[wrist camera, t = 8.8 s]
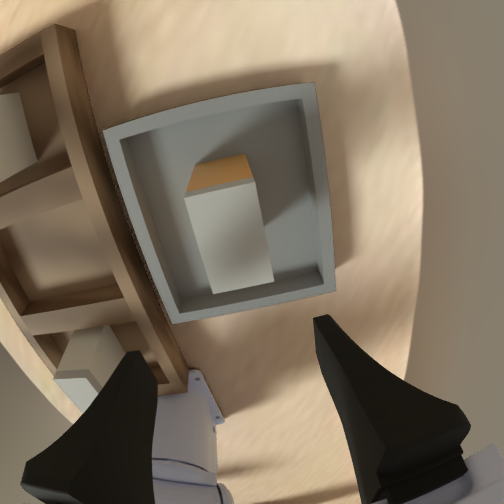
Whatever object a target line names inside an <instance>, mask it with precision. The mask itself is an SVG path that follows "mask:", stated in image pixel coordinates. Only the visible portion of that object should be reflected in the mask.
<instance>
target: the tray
mask: <svg viewBox="0 0 504 504" xmlns="http://www.w3.org/2000/svg"><path fill="white" fill-rule="evenodd" d="M103 134H104V137H105V141H106V145H107V148H108V151H109V155H110V158H111V162H112V165H113V168H114V171H115V174H116V178H117V181H118V184H119V187H120V190H121V193H122V196H123V199H124V202H125V205H126V208H127V211H128V214H129V217H130V219H131V222H132V225H133V228H134V231H135V233H136V236H137V239H138V242H139V244H140V247H141V250H142V252H143V255H144V257H145V260H146V262H147V265H148V268H149V270H150V273H151V275H152V278H153V280H154V283H155V285H156V287H157V290H158V292H159V295H160V297H161V299H162V302H163V304H164V306H165V309H166V311H167V313H168V316H169V318H170V320H171V322H172V324H177V323H182V322H188V321H194V320H199V319H205V318H210V317H216V316H221V315H226V314H232V313H237V312H242V311H247V310H252V309H257V308H262V307H266V306H271V305H276V304H281V303H285V302H290V301H294V300H299V299H303V298H308V297H312V296H317V295H321V294H325V293H330V292H334V291H336V280H335V262H334V246H333V232H332V220H331V208H330V198H329V188H328V178H327V169H326V161H325V152H324V145H323V137H322V130H321V122H320V116H319V109H318V102H317V96H316V90H315V84H314V82H310V83H298V84H290V85H283V86H276V87H270V88H264V89H258V90H252V91H246V92H241V93H236V94H231V95H226V96H221V97H216V98H212V99H207V100H203V101H199V102H195V103H191V104H187V105H183V106H179V107H175V108H171V109H168V110H164V111H161V112H157V113H154V114H150V115H147V116H144V117H140V118H137V119H134V120H131V121H128V122H125V123H122V124H119V125H116V126H113V127H111V128H108V129H106V130H103ZM241 154H245V156H246V158H247V161H248V164H249V167H250V169H251V172H252V175H253V178H254V181H255V184H256V189H257V194H258V200H259V205H260V210H261V215H262V220H263V225H264V230H265V235H266V241H267V246H268V251H269V256H270V262H271V267H272V272H273V278H274V282H270V283H265V284H261V285H256V286H251V287H246V288H241V289H237V290H232V291H227V292H222V293H217V294H213V292H212V289H211V286H210V283H209V279H208V276H207V273H206V270H205V267H204V264H203V260H202V257H201V254H200V251H199V247H198V244H197V241H196V237H195V234H194V231H193V227H192V224H191V221H190V217H189V214H188V210H187V207H186V203H185V200H184V197H185V193H186V190H187V187H188V184H189V181H190V178H191V175H192V172H193V169H194V166H195V165H197V164H201V163H205V162H209V161H214V160H218V159H222V158H227V157H232V156H236V155H241Z"/></svg>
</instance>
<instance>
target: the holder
mask: <svg viewBox="0 0 504 504" xmlns="http://www.w3.org/2000/svg"><path fill="white" fill-rule="evenodd" d="M17 92H20V97H21V101H22V106H23V110H24V114H25V118H26V122H27V126H28V130H29V133H30V137H31V140H32V144H33V147H34V151H35V154H36V157H37V160H38V162H36V163H34V164H32V165H30V166H28V167H27V168H25V169H23V170H21V171H19V172H18V173H16V174H14V175H12V176H11V177H9V178H7V179H5V180H4V181H2V182H0V298H1V300H2V301H3V303H4V305H5V306H6V308H7V310H8V311H9V313H10V315H11V316H12V318H13V319H14V321H15V322H16V324H17V326H18V327H19V329H20V330H21V332H22V333H23V335H24V336H25V338H26V339H27V341H28V342H29V343H30V345H31V346H32V348H33V349H34V350H35V352H36V353H37V355H38V356H39V357H40V359H41V360H42V361H43V363H44V364H45V365H46V367H47V368H48V369H49V371H50V372H51V373H52V374H53V376H55V373H56V371H57V368H58V366H59V364H60V361H61V359H62V356H63V354H64V352H65V349H66V347H67V345H68V343H69V340H70V338H71V336H72V334H73V332H74V330H78V329H85V328H92V327H99V326H106V325H110V327H111V329H112V331H113V332H114V334H115V336H116V338H117V339H118V341H119V343H120V344H121V346H122V348H123V349H124V351H125V353H127V352H130V351H137V350H140V352H141V354H142V355H143V357H144V359H145V360H146V362H147V364H148V366H149V367H150V369H151V371H152V372H153V374H154V375H155V377H156V379H157V380H158V396H160V395H170V394H179V393H188V378H189V367H188V365H187V363H186V361H185V359H184V357H183V355H182V353H181V351H180V349H179V347H178V344H177V342H176V340H175V338H174V336H173V334H172V332H171V329H170V327H169V325H168V323H167V321H166V318H165V316H164V314H163V312H162V309H161V307H160V305H159V303H158V300H157V298H156V296H155V293H154V291H153V289H152V286H151V284H150V281H149V279H148V277H147V274H146V272H145V269H144V267H143V264H142V262H141V259H140V257H139V254H138V251H137V249H136V246H135V244H134V241H133V238H132V236H131V233H130V230H129V228H128V225H127V222H126V219H125V216H124V214H123V211H122V208H121V205H120V202H119V199H118V196H117V193H116V190H115V187H114V184H113V181H112V178H111V175H110V172H109V168H108V165H107V162H106V159H105V155H104V152H103V148H102V145H101V141H100V138H99V134H98V131H97V127H96V123H95V120H94V116H93V112H92V108H91V104H90V100H89V96H88V92H87V87H86V83H85V79H84V74H83V69H82V65H81V60H80V55H79V50H78V44H77V39H76V33H75V30H73V29H70V28H67V27H64V26H60V25H57V24H54V25H52V26H50V27H48V28H46V29H44V30H43V31H41V32H39V33H37V34H35V35H34V36H32V37H30V38H28V39H27V40H25V41H23V42H22V43H20V44H18V45H17V46H15V47H14V48H12V49H11V50H9V51H7V52H6V53H4V54H3V55H1V56H0V95H3V94H10V93H17Z"/></svg>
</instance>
